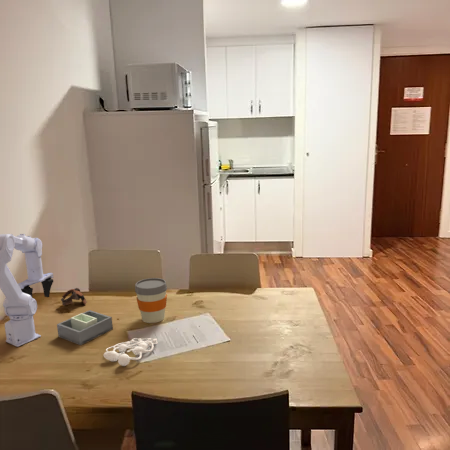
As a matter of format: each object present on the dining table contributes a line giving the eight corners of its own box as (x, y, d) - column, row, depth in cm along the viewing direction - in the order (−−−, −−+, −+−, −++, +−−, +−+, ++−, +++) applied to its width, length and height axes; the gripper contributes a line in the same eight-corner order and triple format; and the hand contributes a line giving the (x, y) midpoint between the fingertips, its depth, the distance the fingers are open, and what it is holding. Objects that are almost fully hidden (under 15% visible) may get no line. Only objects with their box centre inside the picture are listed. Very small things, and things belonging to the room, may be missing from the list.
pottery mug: (87, 308, 193) (75, 295, 189) (68, 318, 194) (56, 305, 190) (90, 292, 204) (79, 279, 200) (72, 301, 204) (61, 289, 200)
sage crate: (87, 335, 164) (85, 323, 163) (72, 330, 169) (70, 317, 168) (98, 330, 168) (96, 318, 167) (82, 325, 173) (81, 313, 172)
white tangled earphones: (139, 339, 165) (138, 328, 165) (167, 346, 157) (166, 335, 156) (97, 361, 150) (95, 349, 149) (126, 370, 141) (124, 357, 141)
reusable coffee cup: (152, 327, 171) (150, 291, 168) (131, 320, 179) (127, 284, 176) (175, 316, 181) (173, 281, 178) (153, 309, 188) (151, 275, 185)
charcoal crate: (80, 345, 159) (79, 332, 158) (58, 336, 167) (56, 324, 166) (112, 329, 171) (111, 317, 170) (90, 321, 179) (89, 310, 177)
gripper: (24, 274, 167) (29, 308, 170) (56, 263, 179) (60, 295, 182) (12, 271, 171) (17, 305, 174) (45, 261, 183) (49, 292, 186)
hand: (38, 300), depth 178 cm, fingers open, 7 cm apart
